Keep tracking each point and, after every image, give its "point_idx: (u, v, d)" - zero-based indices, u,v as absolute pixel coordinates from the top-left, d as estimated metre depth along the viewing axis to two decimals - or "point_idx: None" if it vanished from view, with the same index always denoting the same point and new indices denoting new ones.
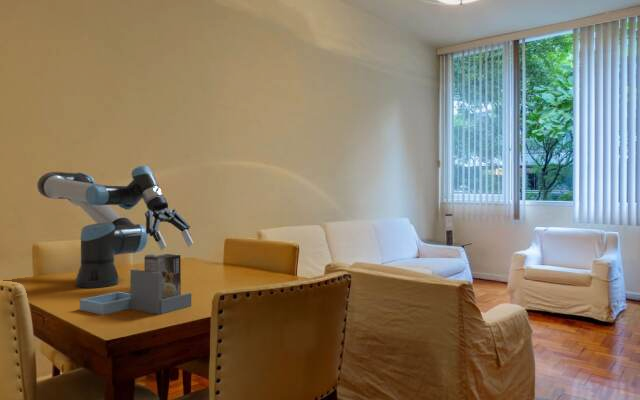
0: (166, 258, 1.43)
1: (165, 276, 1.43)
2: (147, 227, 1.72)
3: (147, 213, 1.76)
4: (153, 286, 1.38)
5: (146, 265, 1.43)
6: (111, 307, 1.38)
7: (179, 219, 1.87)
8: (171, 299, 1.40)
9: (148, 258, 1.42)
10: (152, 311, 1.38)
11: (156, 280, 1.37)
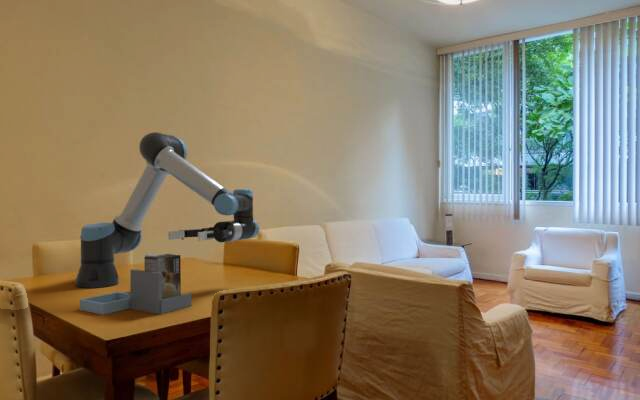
0: (166, 258, 1.43)
1: (165, 276, 1.43)
2: (224, 233, 1.58)
3: (230, 233, 1.64)
4: (153, 286, 1.38)
5: (146, 265, 1.43)
6: (111, 307, 1.38)
7: None
8: (171, 299, 1.40)
9: (148, 258, 1.42)
10: (152, 311, 1.38)
11: (156, 280, 1.37)
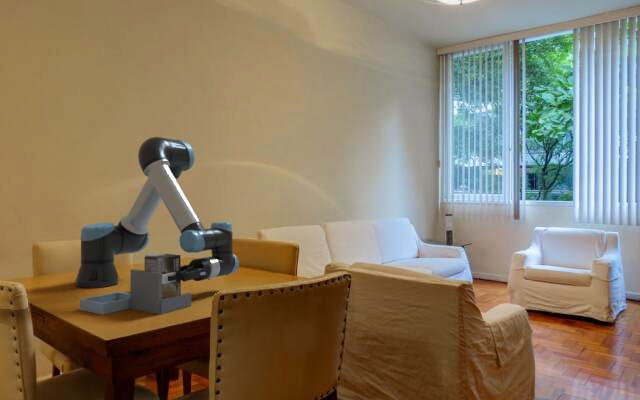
0: (166, 258, 1.43)
1: None
2: (189, 275, 1.46)
3: (202, 274, 1.52)
4: (153, 286, 1.38)
5: (146, 265, 1.43)
6: (111, 307, 1.38)
7: None
8: (171, 299, 1.40)
9: (148, 258, 1.42)
10: (152, 311, 1.38)
11: (156, 280, 1.37)
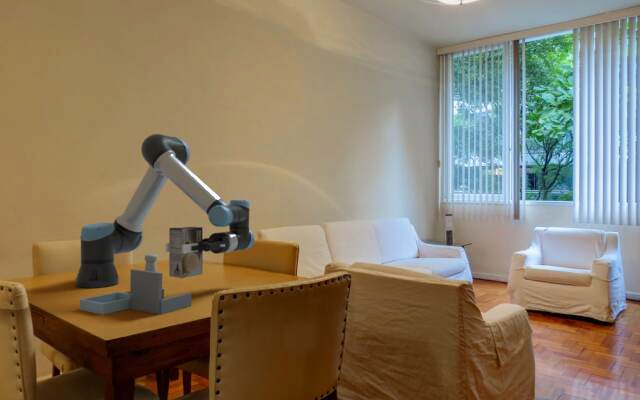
0: (190, 229, 1.52)
1: None
2: (210, 246, 1.56)
3: (222, 246, 1.61)
4: (153, 286, 1.38)
5: (171, 236, 1.52)
6: (111, 307, 1.38)
7: None
8: (171, 299, 1.40)
9: (173, 229, 1.52)
10: (152, 311, 1.38)
11: (156, 280, 1.37)
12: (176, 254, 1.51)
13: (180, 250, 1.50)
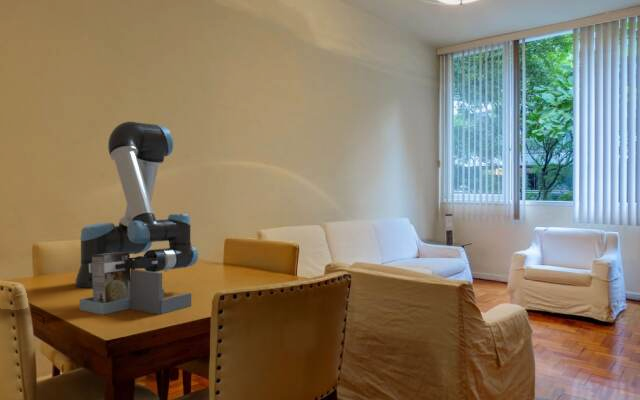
0: (113, 255, 1.41)
1: (113, 273, 1.41)
2: (138, 263, 1.44)
3: (154, 263, 1.50)
4: (153, 286, 1.38)
5: (93, 263, 1.41)
6: (111, 307, 1.38)
7: None
8: (171, 299, 1.40)
9: (95, 256, 1.41)
10: (152, 311, 1.38)
11: (156, 280, 1.37)
12: (99, 283, 1.40)
13: (103, 278, 1.39)
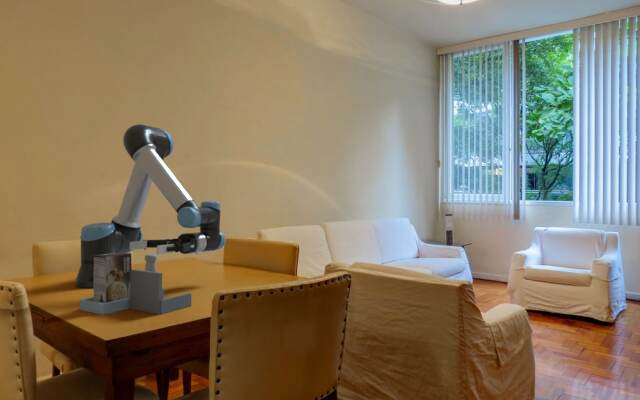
0: (115, 256, 1.41)
1: (114, 275, 1.40)
2: (185, 247, 1.59)
3: (192, 246, 1.66)
4: (153, 286, 1.38)
5: (95, 263, 1.41)
6: (111, 307, 1.38)
7: None
8: (171, 299, 1.40)
9: (97, 256, 1.40)
10: (152, 311, 1.38)
11: (156, 280, 1.37)
12: (100, 284, 1.39)
13: (104, 280, 1.38)
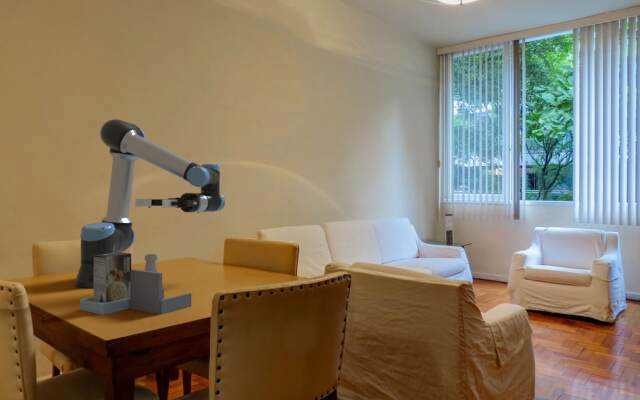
0: (115, 256, 1.41)
1: (114, 275, 1.40)
2: (188, 202, 1.68)
3: (195, 203, 1.74)
4: (153, 286, 1.38)
5: (95, 263, 1.41)
6: (111, 307, 1.38)
7: None
8: (171, 299, 1.40)
9: (97, 256, 1.40)
10: (152, 311, 1.38)
11: (156, 280, 1.37)
12: (100, 284, 1.39)
13: (104, 280, 1.38)
